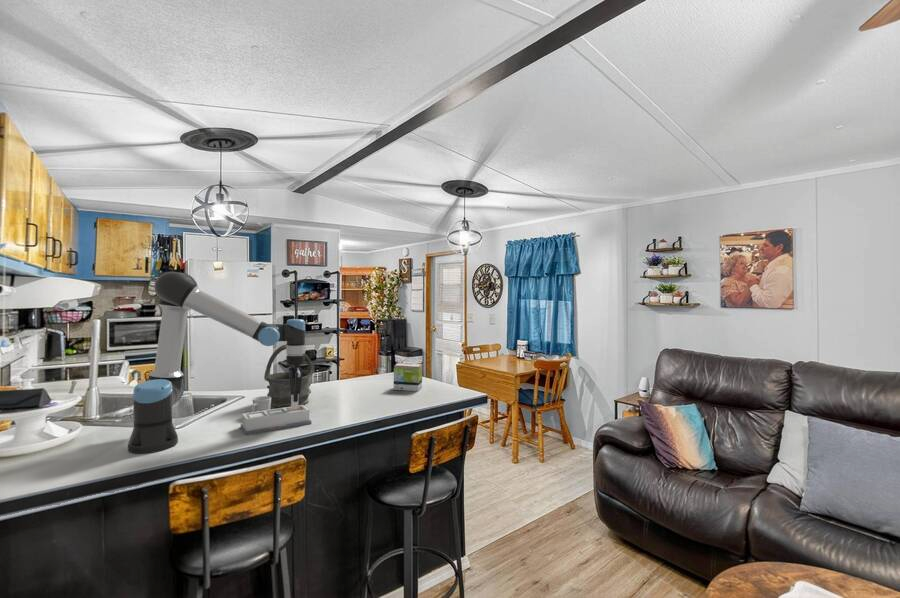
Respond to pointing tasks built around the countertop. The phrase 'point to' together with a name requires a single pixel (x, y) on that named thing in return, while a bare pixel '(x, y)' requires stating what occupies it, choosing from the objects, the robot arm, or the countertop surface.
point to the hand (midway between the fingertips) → (294, 408)
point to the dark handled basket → (286, 383)
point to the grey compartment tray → (275, 420)
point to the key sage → (276, 412)
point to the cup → (261, 403)
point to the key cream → (255, 415)
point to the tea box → (408, 376)
